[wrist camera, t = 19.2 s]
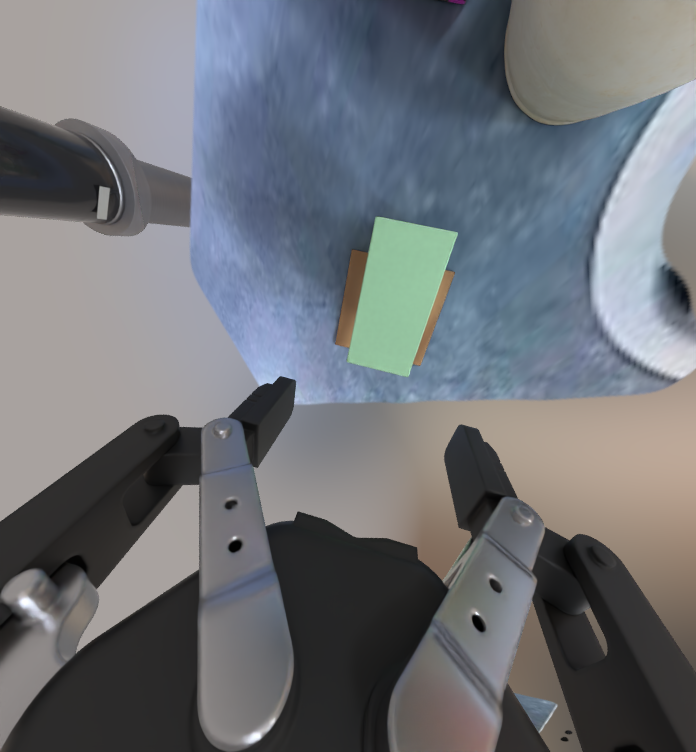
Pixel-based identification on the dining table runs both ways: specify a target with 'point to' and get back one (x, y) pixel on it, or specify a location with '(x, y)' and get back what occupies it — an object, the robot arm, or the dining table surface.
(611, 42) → the jug
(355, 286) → the cork mat
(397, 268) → the green carton
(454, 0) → the candy bar box
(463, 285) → the dining table surface
